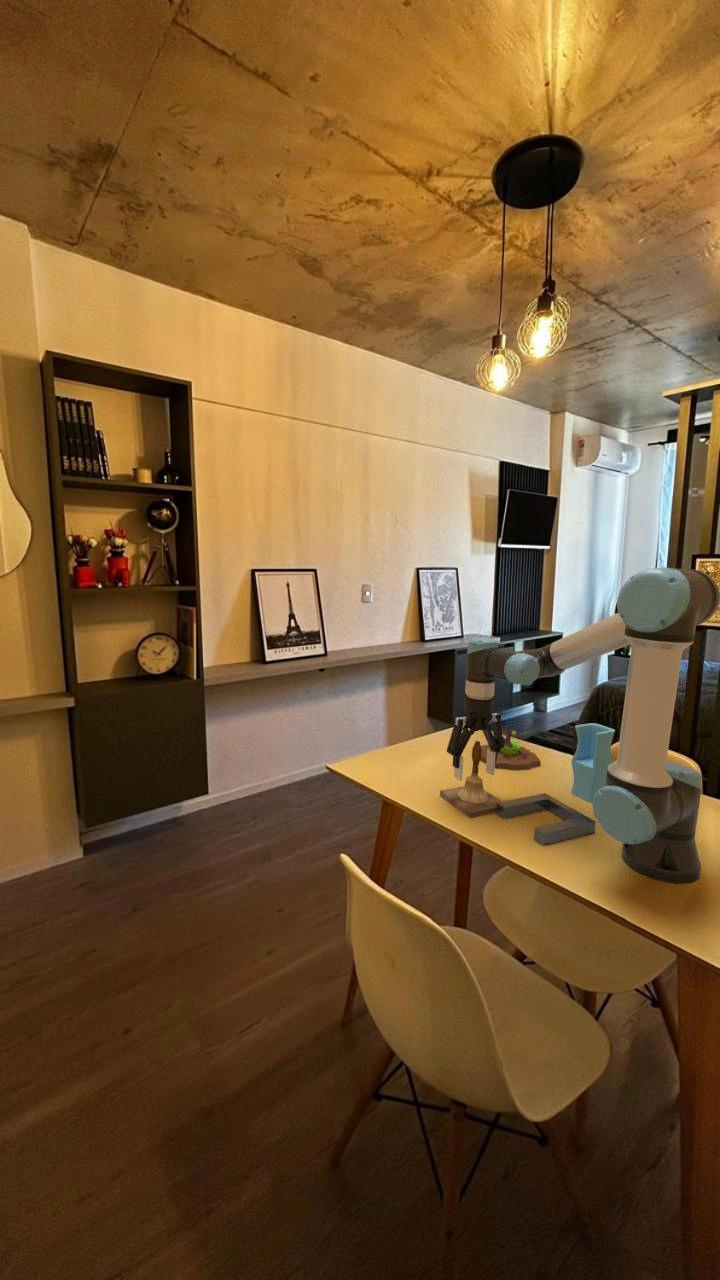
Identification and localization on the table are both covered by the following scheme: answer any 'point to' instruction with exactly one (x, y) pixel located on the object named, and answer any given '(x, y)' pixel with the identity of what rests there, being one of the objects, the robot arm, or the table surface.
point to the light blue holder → (591, 759)
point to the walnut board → (469, 808)
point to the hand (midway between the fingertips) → (474, 775)
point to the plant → (512, 755)
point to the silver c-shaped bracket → (558, 831)
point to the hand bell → (474, 781)
